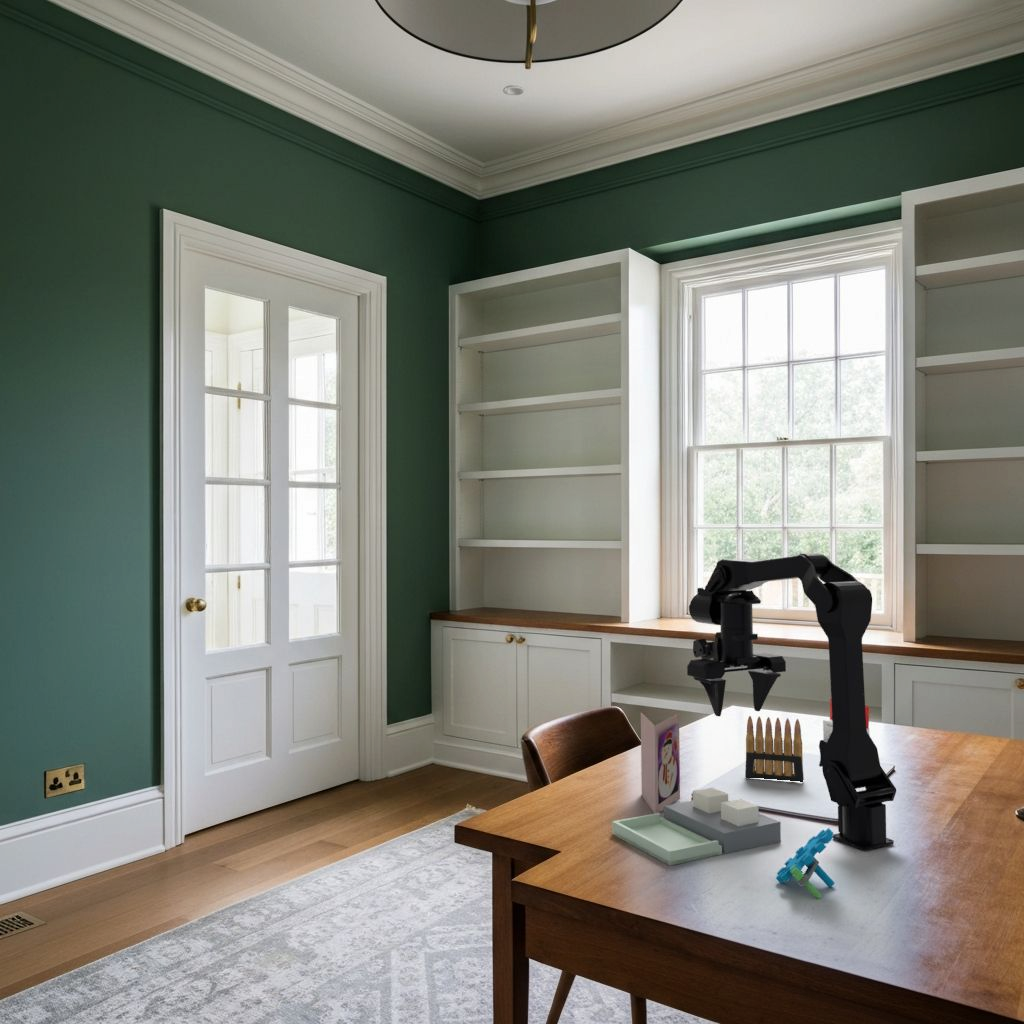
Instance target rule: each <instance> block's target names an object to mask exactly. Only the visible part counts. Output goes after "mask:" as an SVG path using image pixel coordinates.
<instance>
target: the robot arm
mask: <svg viewBox="0 0 1024 1024" xmlns="http://www.w3.org/2000/svg"><path fill="white" fill-rule="evenodd" d="M795 579H799V580H800V581H801V586H802V589H803V593H804V595H805V596H806V597H807V598H808V599H809V601H811V602H812V604H813V605H814V607H815V613H816V619H817V622H818V624H819V626H820V627H821V629H822V631H823V632H824V634H825V635H826V637H827V640H828V654H829V659H828V660H829V679H830V699H831V702H832V723H833V729H832V733H831V735H830V737H829V739H825V740H824V739H821V740H819V745H818V748H819V754H820V760H819V765H818V766H819V768H821V767H822V769H821V770H822V775H823V778H824V780H825V783H826V786H827V790H828V795H829V797H830V801H831V802H833V803H835V804H837V829H838V833H833V835H832V836H833V838H832V839H834V840H836V841H839V842H842V843H845V844H846V845H850V846H852V847H854V848H856V849H859V850H861V851H869V850H873V849H878V848H881V847H885V846H890V845H894V844H895V842H894V840H893V839H890V838H889V837H887V808H886V807H887V806H886V804H885V803H886V802H893V801H894V799H895V797H896V793H897V788H896V786H895V785H894V783H893V782H892V781H891V779H890V778H889V776H888V775H887V773H886V772H885V770H884V768H883V767H882V766H881V762H880V758H879V752H878V747H877V745H876V744H875V743H874V741H873V739H872V737H871V736H869V735H870V733H869V734H868V733H867V729H866V712H865V706H866V699H865V698H866V695H865V676H864V657H863V656H864V655H863V637H864V635H865V633H866V631H867V629H868V627H869V625H870V623H871V620H872V619H871V618H872V612H873V610H872V609H873V608H872V607H873V595H872V593H871V590H870V589H869V588H867V586H866V585H865V584H864V583H862V582H861V581H859V580H857V578H856V577H854V576H853V575H852V574H851V573H850V572H847V571H846V570H845V569H842V568H841V567H839V566H838V565H836V564H835V563H833V562H832V560H830V559H829V558H828V557H827V556H826V555H824V554H822V553H820V552H819V553H818V552H813V553H812V552H811V553H800V554H798V555H793V556H785V557H779V558H773V559H772V558H771V559H765V560H760V559H754V558H753V559H752V558H737V559H736V558H734V559H733V558H731V559H720V560H718V561H717V562H716V566H715V567H714V570H713V572H712V574H711V576H710V577H709V580H708V581H707V584H706V585H705V587H698V588H697V591H696V592H697V594H695V595H693V597H692V598H691V600H690V603H689V606H688V611H689V614H690V615H689V616H690V617H691V619H692V621H693V620H694V621H695V622H697V623H700V624H708V625H714V626H715V625H716V626H720V631H719V632H717V631H716V633H715V634H714V641H707V640H706V638H699V639H696V640H693V643H692V652H693V655H694V657H695V658H696V659H690V661H689V662H688V664H687V667H686V670H687V672H686V673H687V676H689V677H693V680H695V681H698V682H699V683H700V684H701V685H702V687H703V688H704V689H705V692H706V694H707V697H708V699H709V703H710V705H711V708H712V711H713V712H714V716H716V717H721V715H722V711H723V705H724V697H725V690H726V682H727V680H726V679H723V677H724V676H725V674H726V673H731V672H732V673H733V672H739V671H740V672H741V671H747V673H748V674H749V676H750V678H751V681H752V700H753V708H754V711H756V712H761V710H762V708H763V706H764V704H765V702H766V699H767V697H768V696H769V694H770V692H771V689H772V688H773V686H774V684H775V683H776V681H777V679H778V678H779V677H780V678H781V676H782V674H781V673H784V672H787V671H786V670H787V668H786V667H787V665H786V664H787V662H786V660H785V659H784V656H782V655H777V654H772V653H768V652H763V653H754V640H757V641H758V640H759V638H758V637H759V635H758V633H754V631H753V630H754V628H753V625H754V624H753V621H754V620H753V616H754V615H753V605H759V604H761V603H762V600H761V599H760V598H759V597H758V596H757V595H756V594H755V593H754V591H753V589H756V588H758V587H761V586H763V585H764V584H766V583H768V582H775V581H783V580H795ZM697 658H698V659H697ZM700 658H701V659H700ZM861 788H865V790H858V791H857V790H856V789H861Z"/></svg>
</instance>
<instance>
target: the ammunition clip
mask: <svg viewBox="0 0 1024 1024" xmlns="http://www.w3.org/2000/svg"><path fill="white" fill-rule="evenodd" d="M784 723H785V725H784V735H783V736H782V725H781V721H780V718H779V717H777V718H776V720H775V724H774V738H773V727H772V721H771V718H770V716H767V718H766V721H765V734H764V732H763V722H762V719H761V716H758V717H757V720H756V723H755V724H756V727H755V729H756V730H755V735H754V724H753V719H752V716H751V715H749V716H748V717H747V724H746V735H745V736H746V737H745V775H744V776H745V777H746V778H764V779H777V780H790V781H800V782H803V780H804V781H805V778H804V765H803V763H804V762H803V761H804V759H803V741H802V729H801V724H800V720H799V719H798V718H796V721H795V723H794V729H793V730H794V733H793V738H792V728H791V722H790V719H789V718H788V717H787V718H786V720H785V722H784ZM745 777H744V778H745ZM746 778H745V779H746Z"/></svg>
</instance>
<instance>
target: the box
mask: <svg viewBox="0 0 1024 1024" xmlns="http://www.w3.org/2000/svg"><path fill="white" fill-rule="evenodd" d="M611 823H612V828H611V829H612V832H611V833H612V835H613V836H616V837H617V838H619V839H620V840H623V841H624V842H626V843H628V844H630V845H632V846H634V847H636V848H637V849H639V850H641V851H643V852H644V853H646V854H648V855H650V856H652V857H653V858H655V859H657V860H659V861H661V862H662V863H664V864H666V865H669V866H673V865H678V864H679V865H680V864H682V863H683V864H685V863H688V862H692V861H697V860H701V859H706V858H711V857H716V856H719V855H723V853H722V846H721V845H719V841H717V840H714V841H710V840H708V839H706V838H704V837H702V836H700V835H697V834H695V833H693V832H691V831H689V830H687V829H685V828H683V827H681V826H679V825H677V824H674V823H672V822H670V821H668V820H666V819H664V817H661V812H659V813H650V814H646V815H639V816H634V817H628V818H623V819H617V820H612V822H611Z"/></svg>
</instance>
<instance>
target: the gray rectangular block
mask: <svg viewBox="0 0 1024 1024" xmlns="http://www.w3.org/2000/svg"><path fill="white" fill-rule="evenodd" d="M758 814H759V822H757V823H752V824H747V825H742V826H737V825H735V824H732V823H730V822H728V821H725V820H723V819H721V811H718V812H713V813H707V812H705V811H702V810H700V809H698V808H696V807H693V800H688V801H683V802H678V803H677V802H676V803H672V804H670V805H665V806H664V809H663V818H664V819H666V820H668V821H670V822H672V823H674V824H677V825H679V826H681V827H683V828H685V829H687V830H689V831H691V832H693V833H695V834H697V835H700V836H702V837H704V838H706V839H708V840H710V841H714V840H717V841H719V845H721V846H722V854H729V853H733V852H738V851H744V850H747V849H748V850H749V849H752V848H756V847H760V846H762V847H763V846H766V845H770V844H774V843H775V844H776V843H780V842H782V840H781V839H782V837H781V821H780V820H776V819H774V818H772V817H769V816H767V815H764V814H761V813H759V812H758Z"/></svg>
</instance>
